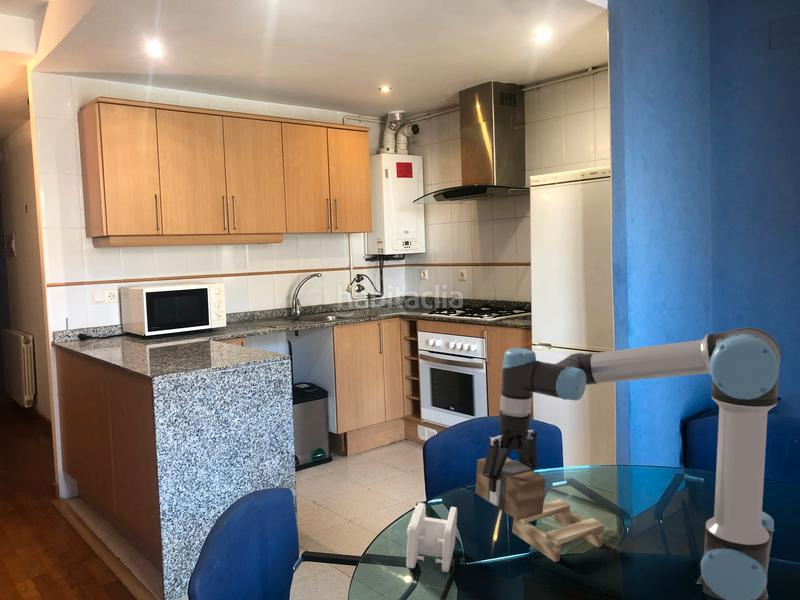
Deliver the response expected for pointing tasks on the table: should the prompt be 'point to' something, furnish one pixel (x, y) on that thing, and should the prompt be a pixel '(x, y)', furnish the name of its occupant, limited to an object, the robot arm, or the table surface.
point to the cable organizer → (431, 537)
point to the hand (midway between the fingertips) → (508, 499)
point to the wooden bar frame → (554, 539)
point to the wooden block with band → (514, 489)
